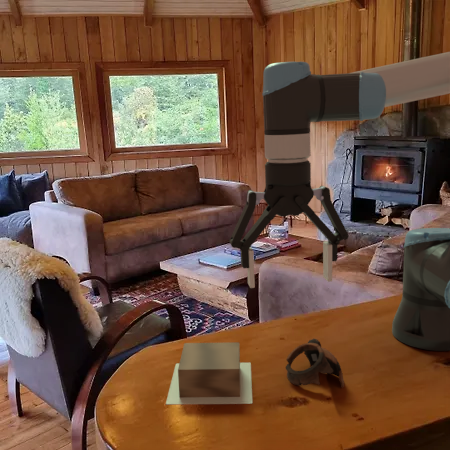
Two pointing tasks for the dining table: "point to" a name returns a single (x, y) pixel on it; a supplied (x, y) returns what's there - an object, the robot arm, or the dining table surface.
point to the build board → (243, 399)
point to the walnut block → (209, 370)
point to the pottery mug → (317, 358)
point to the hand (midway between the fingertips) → (289, 282)
